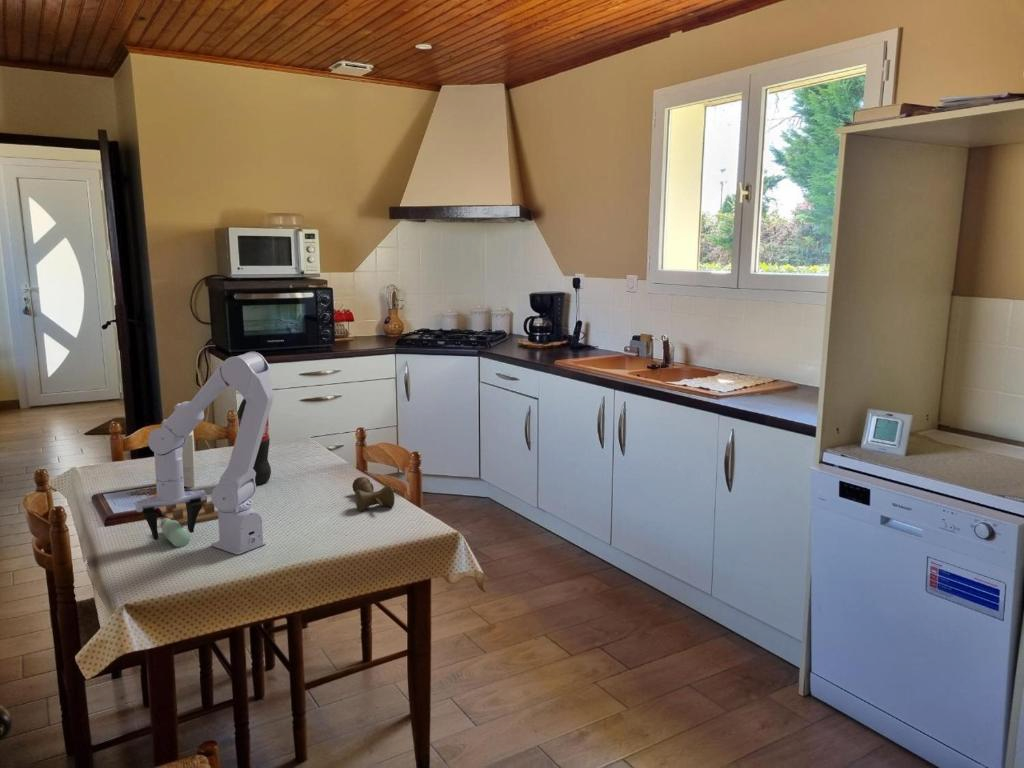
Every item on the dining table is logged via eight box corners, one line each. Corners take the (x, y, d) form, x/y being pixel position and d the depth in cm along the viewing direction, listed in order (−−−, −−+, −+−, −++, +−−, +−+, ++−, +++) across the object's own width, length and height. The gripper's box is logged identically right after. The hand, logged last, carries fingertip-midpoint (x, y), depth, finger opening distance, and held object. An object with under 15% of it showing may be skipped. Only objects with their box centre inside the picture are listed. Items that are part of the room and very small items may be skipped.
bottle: (187, 548, 169) (192, 530, 169) (169, 546, 166) (174, 529, 167) (172, 532, 178) (177, 516, 178) (154, 530, 176) (159, 514, 176)
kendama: (378, 492, 210) (400, 513, 193) (344, 498, 206) (363, 519, 189) (377, 472, 210) (399, 490, 192) (343, 477, 205) (362, 496, 188)
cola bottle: (265, 487, 212) (261, 383, 207) (235, 486, 212) (230, 382, 207) (275, 478, 220) (271, 378, 215) (246, 477, 220) (242, 377, 215)
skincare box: (172, 480, 216) (169, 428, 213) (197, 478, 218) (194, 427, 215) (170, 489, 208) (166, 435, 205) (195, 487, 210) (192, 433, 208)
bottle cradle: (221, 518, 187) (220, 505, 186) (174, 527, 180) (173, 513, 179) (201, 501, 199) (200, 488, 198) (156, 509, 192) (156, 496, 191)
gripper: (197, 468, 176) (200, 523, 179) (130, 479, 167) (134, 536, 170) (207, 475, 171) (210, 532, 173) (138, 487, 162) (142, 546, 164)
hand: (173, 535), depth 171 cm, fingers open, 7 cm apart
